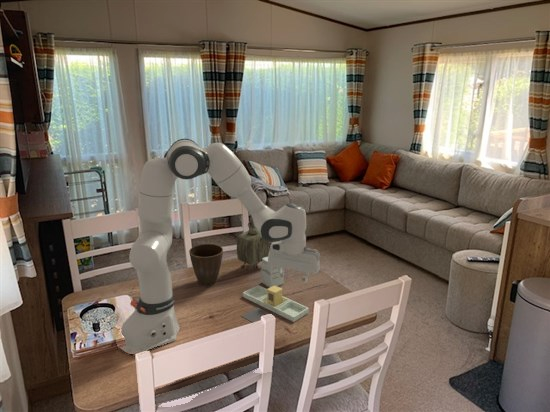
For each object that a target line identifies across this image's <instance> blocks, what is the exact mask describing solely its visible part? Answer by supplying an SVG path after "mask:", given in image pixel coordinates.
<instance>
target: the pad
mask: <svg viewBox="0 0 550 412" xmlns="http://www.w3.org/2000/svg"><path fill="white" fill-rule="evenodd" d="M266 314H271V313H270V312H268V311H266V310H264V309H262V308H260V307H255V308H254V309H252V310H250V311H248V312H246V313H244V314H242V315H241V318H243V319H245V320H247V321H248V322H251V323H253V322H255V321H258V320H260V317H261V316H262V315H266Z"/></svg>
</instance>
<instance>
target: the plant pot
mask: <svg viewBox="0 0 550 412" xmlns="http://www.w3.org/2000/svg"><path fill="white" fill-rule="evenodd" d="M223 254H224V248H223V247H222V246H221V245H217V244H213V243H203V244H197V245H195V246H192V247H191V248H190V249H189V257H190V262H191V266H192V268H193V272H194V275H195V277H196V279H197V281H198V283H199V285H201V286H203V287H210V286H213V285H215V284H216V281H217V279H218V276H219V274H220V269H221V266H222V261H223Z"/></svg>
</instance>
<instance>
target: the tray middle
mask: <svg viewBox="0 0 550 412" xmlns="http://www.w3.org/2000/svg"><path fill="white" fill-rule="evenodd" d="M290 300H291V299H290V298H288V297H285V296H283V300H282V304H280V305H278V306H277V307H274V306H272V305H270V304H268V303H267V296H266V297H264V298H262V299H260V300H259V304H258V305H259V306H260V307H262V308H264V309H267V310H269V311H271V312H273V313H274V314H277V313H276V308H278V307H280V306H282V305H283V304H285V303H287V302H288V301H290Z"/></svg>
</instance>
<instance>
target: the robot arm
mask: <svg viewBox="0 0 550 412" xmlns="http://www.w3.org/2000/svg"><path fill="white" fill-rule="evenodd" d="M142 168H143V169H142V172H141V175H140V181H139V190H138V203H137V205H138V206H137V215H138V218H139V224H140V231H139V234H138V237H137V238H136V240H135V241H134V242H133V244H132V245H131V248H130V251H129V256H128V257H129V262H130V265H131V267H132V268H134V270H135V273H136V276H137V279H138V287H139V288H138V289H139V297H138V301H136V300H135V299H133V300H131V301H130V306H131V307H132V308H136V309H135V310H134V311H133V312H132V313H131V314H130V316H129V317H128V318H126V319H125V321H124V322H123V323H122V325H121V333H122V335H123V336H124V337H125V343H126V346H123V347H120V348H121V349H122V350H124V351H125V352H128V353H135V354H136V351H137V353H138V352H142V351H146V350H149V349H152V348H154V347H157V346H160V345H162V346H164V344H165V345H168V344H170V343H172V342H175V341H176V340H177V335H178V333H179V331H180V325H179V322H178V319H177V315H176V312H175V296H174V292H173V285H172V284H173V283H172V282H173V281H172V274H171V272H170V270H169V267H168V263H167V262H168V261H167V257H168V252H169V250H170V248H171V246H172V242H173V205H174V196H175V194H174V193H175V186H176V185H175V184H176V181H177V179H178V178H179V179H181V180H191V179H195V178H197V177H200V176H202V175H205V174H208V175H209V176H210V177H211V179H212V180H213V181H214V182H215V184H216V185H217V186H218V187H219V188H220V189H221V190H222V191H223V192H224V193H225V194H227V195H228V196H229V197H231V198H232V197H233V198H236V199H238V200H239V202H240V204H242V205H243V207H244V208H245V209H246V211H248V213H249V216H250V217H251V218H250V220H252V221H251V223H252V225H254V228H256V229H257V230H258V232H259V233H260V235H261V236H262V237H263V239H265V240H266V241H268V242H269V254H268V263H269V265H272V266H277V270H278V272H279V277H285V273H286V272H285V271H284V272H283V271H282V269H281V268H284V269H288V270H291V271H292V270H293V271H298V272H302V273H304V274H305V275H303V276H302V278H301V282H302V283H307V282H308V277H309V276H310V274H313V275H316V274H317V273H319V271H320V270H321V265H320V260H321V253H320V252H319V250H317V249H315V248H309V247H306V245H307V236H306V230H307V214H306V210H305V208H304V207H303V206H302V205H300V204H298V203H293V202H289V203H288V202H287V203H285V204H284V205H283V206H282V207H280V208H279V209H278V210H276V211H275V209H274V208H272V207H271V206H269V205H267V204H265V203H264V202H263V201H262V199H260V197H259V196H258V195H257V193H256V192H255V191H254V188H252V178H251V176H250V174H249V172H248V170H247V169H246V166H244V164H243V163H242V161H241V160H240V159H239V157H237V156H236V154H235V153H234V152H233V151H232V150H231V149H230V148H229V147H228V146H226V144H224V143H223V142H214V143H213V142H212V143H211V144H209V145H207V147H203V148H202V147H200V146H199V144H197V143H196V142H195V141H194V140H192V139H189V138H181V139H178V140H176V141H174V142H173V143H172V144H171V145H170V147H169V148H168V150H167V151H166V152H165V153H164V155H163V158H157V157H156V158H151V159H149V160H147V161H146V162H145V163H144V165H143V167H142ZM121 333H120V334H121ZM167 343H168V344H167ZM160 347H161V346H160ZM157 348H158V347H157ZM154 349H155V348H154ZM129 350H132V351H129ZM152 350H153V349H152ZM149 351H150V350H149Z"/></svg>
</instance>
